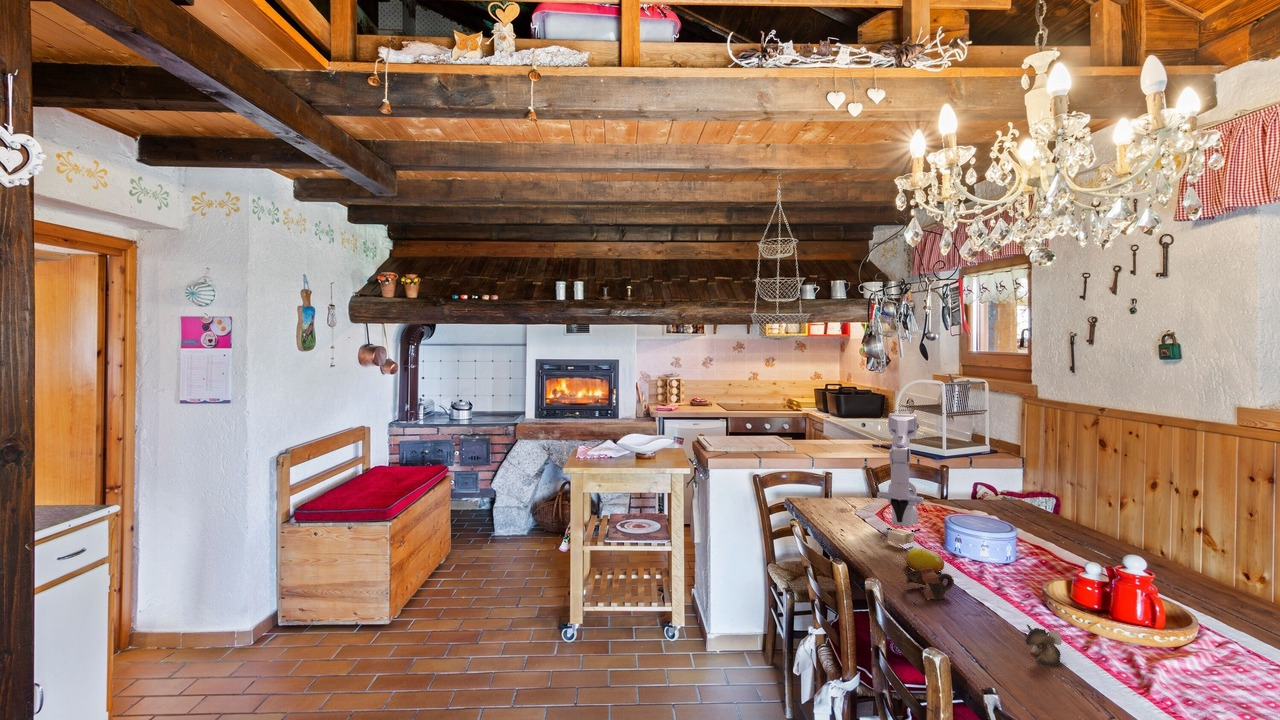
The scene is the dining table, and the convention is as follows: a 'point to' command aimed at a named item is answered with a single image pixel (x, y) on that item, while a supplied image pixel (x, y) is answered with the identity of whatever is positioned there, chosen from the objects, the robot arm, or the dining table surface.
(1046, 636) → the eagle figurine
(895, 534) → the ash block
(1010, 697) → the dining table surface
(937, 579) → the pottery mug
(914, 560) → the fruit
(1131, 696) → the dining table surface
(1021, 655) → the dining table surface
